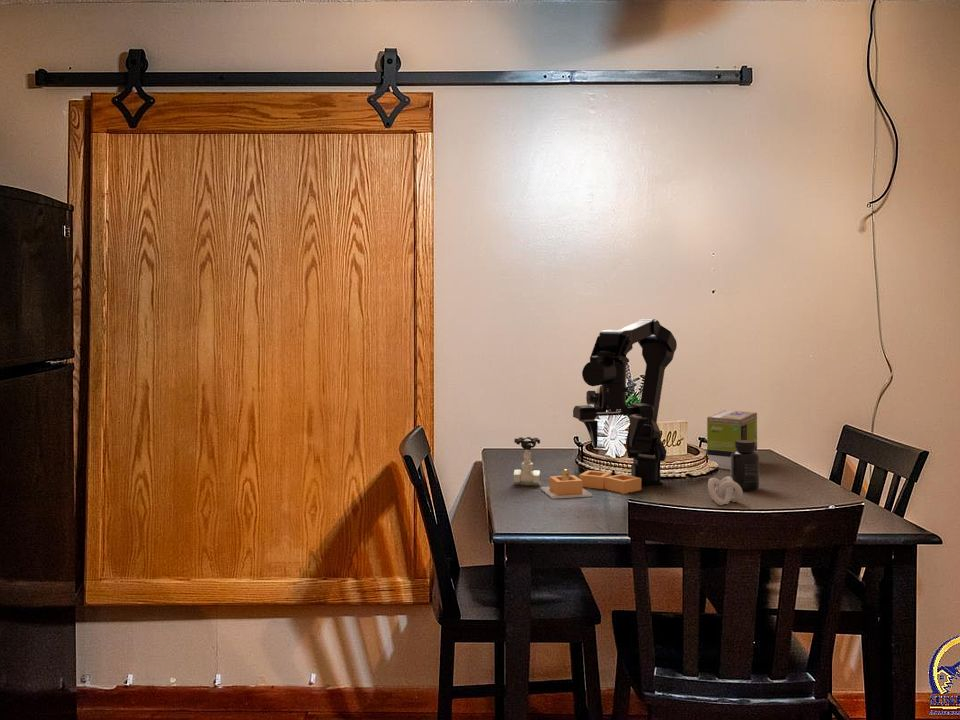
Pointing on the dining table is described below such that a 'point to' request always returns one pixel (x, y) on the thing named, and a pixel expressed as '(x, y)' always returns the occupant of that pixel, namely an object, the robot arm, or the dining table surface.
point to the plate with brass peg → (573, 495)
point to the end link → (565, 484)
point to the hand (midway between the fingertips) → (613, 447)
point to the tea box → (729, 434)
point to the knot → (724, 490)
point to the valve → (527, 464)
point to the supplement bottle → (745, 465)
